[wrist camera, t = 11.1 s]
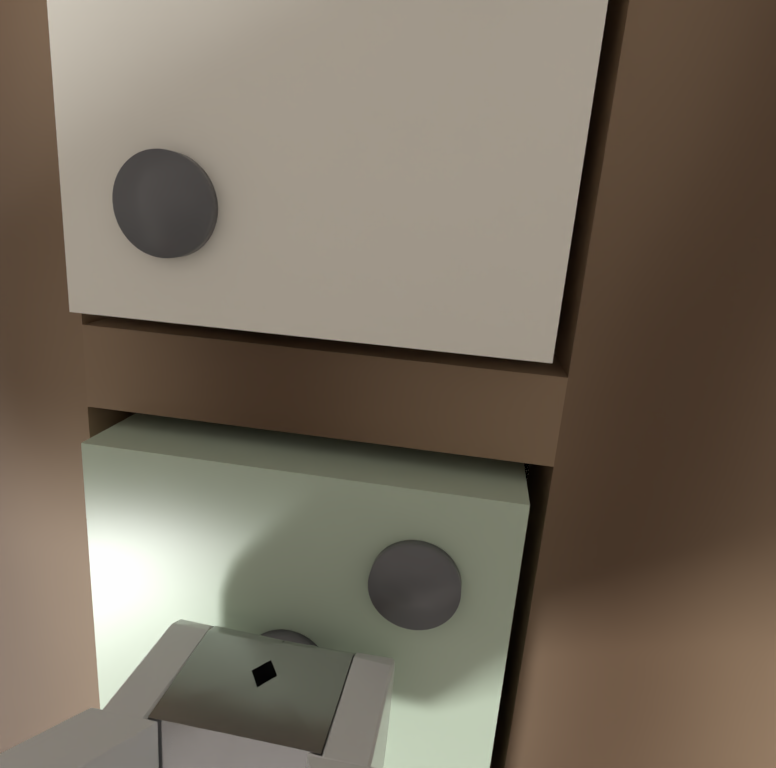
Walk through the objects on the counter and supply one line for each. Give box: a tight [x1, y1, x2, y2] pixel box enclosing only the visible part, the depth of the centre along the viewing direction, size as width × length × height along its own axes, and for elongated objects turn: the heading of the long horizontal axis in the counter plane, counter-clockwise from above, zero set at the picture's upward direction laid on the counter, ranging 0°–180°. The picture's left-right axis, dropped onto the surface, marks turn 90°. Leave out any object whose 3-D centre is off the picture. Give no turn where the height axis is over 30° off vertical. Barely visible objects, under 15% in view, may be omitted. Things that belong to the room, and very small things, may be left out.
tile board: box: [0, 0, 776, 768], centre depth 10 cm, size 14×25×2 cm, turn 176°
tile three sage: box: [81, 413, 530, 768], centre depth 10 cm, size 6×6×3 cm
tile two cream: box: [47, 0, 608, 363], centre depth 8 cm, size 6×6×3 cm
